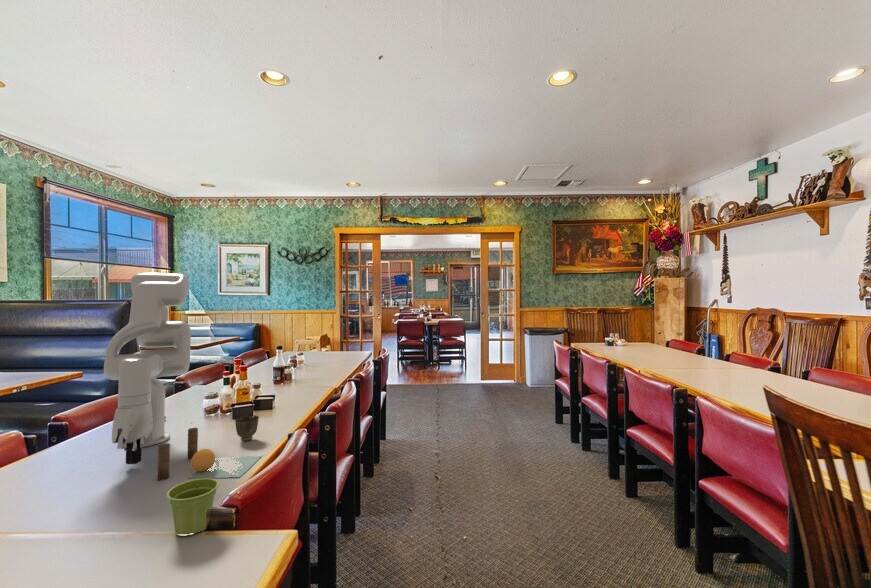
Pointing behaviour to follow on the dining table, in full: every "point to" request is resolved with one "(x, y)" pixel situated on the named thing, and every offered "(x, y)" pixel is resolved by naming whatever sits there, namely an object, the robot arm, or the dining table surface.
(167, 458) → the post
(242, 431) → the cup
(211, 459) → the ball
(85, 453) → the dining table surface
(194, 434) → the post
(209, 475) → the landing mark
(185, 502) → the plant pot
